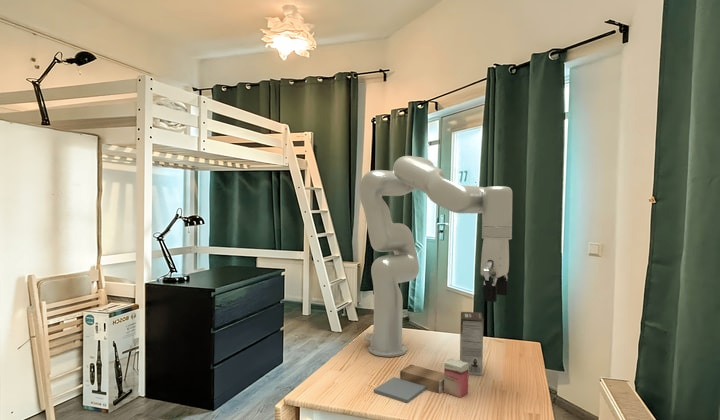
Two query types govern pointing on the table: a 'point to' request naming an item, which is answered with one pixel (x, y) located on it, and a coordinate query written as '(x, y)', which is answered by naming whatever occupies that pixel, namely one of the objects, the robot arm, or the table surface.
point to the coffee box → (472, 341)
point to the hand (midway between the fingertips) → (495, 297)
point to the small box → (456, 377)
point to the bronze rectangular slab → (424, 377)
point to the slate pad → (400, 389)
